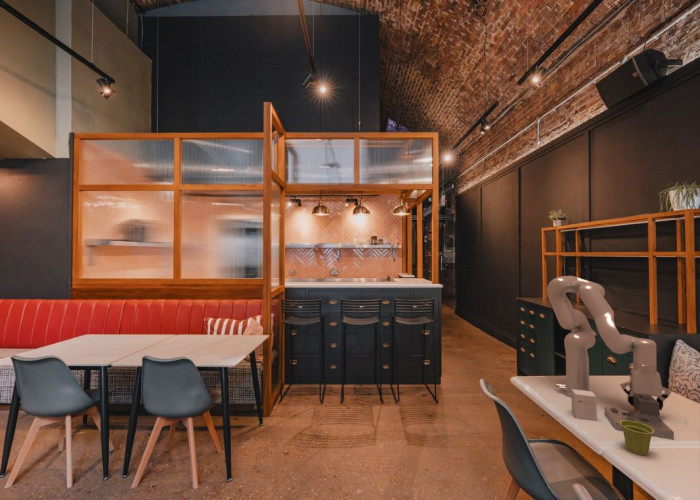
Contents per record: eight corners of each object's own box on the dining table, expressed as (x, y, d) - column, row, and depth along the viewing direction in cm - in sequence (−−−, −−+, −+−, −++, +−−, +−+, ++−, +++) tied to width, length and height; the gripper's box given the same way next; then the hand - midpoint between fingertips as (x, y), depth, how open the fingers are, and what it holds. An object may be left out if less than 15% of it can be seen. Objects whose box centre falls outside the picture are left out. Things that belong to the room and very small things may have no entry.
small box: (592, 415, 145) (592, 391, 145) (597, 421, 139) (597, 396, 139) (571, 412, 147) (571, 388, 147) (575, 418, 142) (575, 393, 142)
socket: (615, 429, 132) (615, 420, 132) (604, 414, 145) (604, 406, 145) (673, 439, 126) (673, 430, 126) (656, 422, 138) (656, 413, 138)
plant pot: (613, 443, 123) (613, 420, 123) (636, 442, 124) (636, 419, 124) (637, 459, 114) (636, 434, 114) (661, 457, 115) (661, 432, 115)
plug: (640, 419, 141) (640, 399, 141) (631, 409, 149) (631, 391, 149) (659, 422, 138) (659, 402, 138) (649, 412, 147) (649, 393, 147)
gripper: (623, 367, 144) (623, 406, 144) (675, 373, 137) (675, 414, 137) (617, 362, 151) (617, 399, 151) (665, 367, 144) (666, 406, 144)
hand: (645, 406), depth 144 cm, fingers open, 9 cm apart
